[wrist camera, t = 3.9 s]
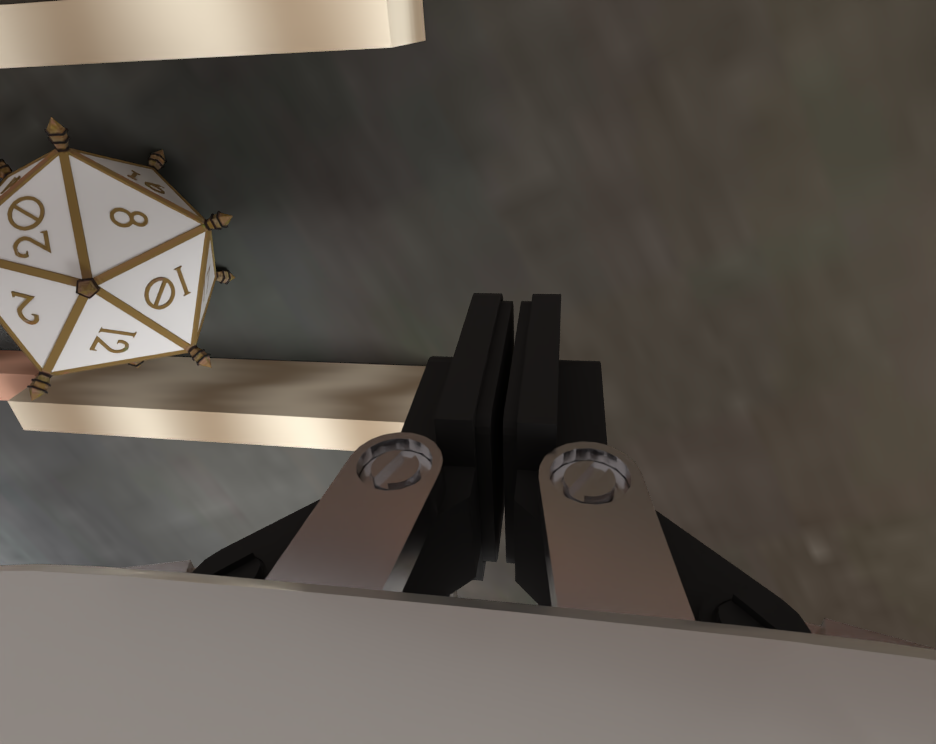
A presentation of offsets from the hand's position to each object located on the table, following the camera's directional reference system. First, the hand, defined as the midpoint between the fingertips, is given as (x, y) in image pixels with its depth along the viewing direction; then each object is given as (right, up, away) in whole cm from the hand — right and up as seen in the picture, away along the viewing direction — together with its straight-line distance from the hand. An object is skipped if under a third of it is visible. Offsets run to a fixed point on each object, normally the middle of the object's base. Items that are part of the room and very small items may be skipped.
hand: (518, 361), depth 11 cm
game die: (-13, +6, +12) cm, 18 cm away
